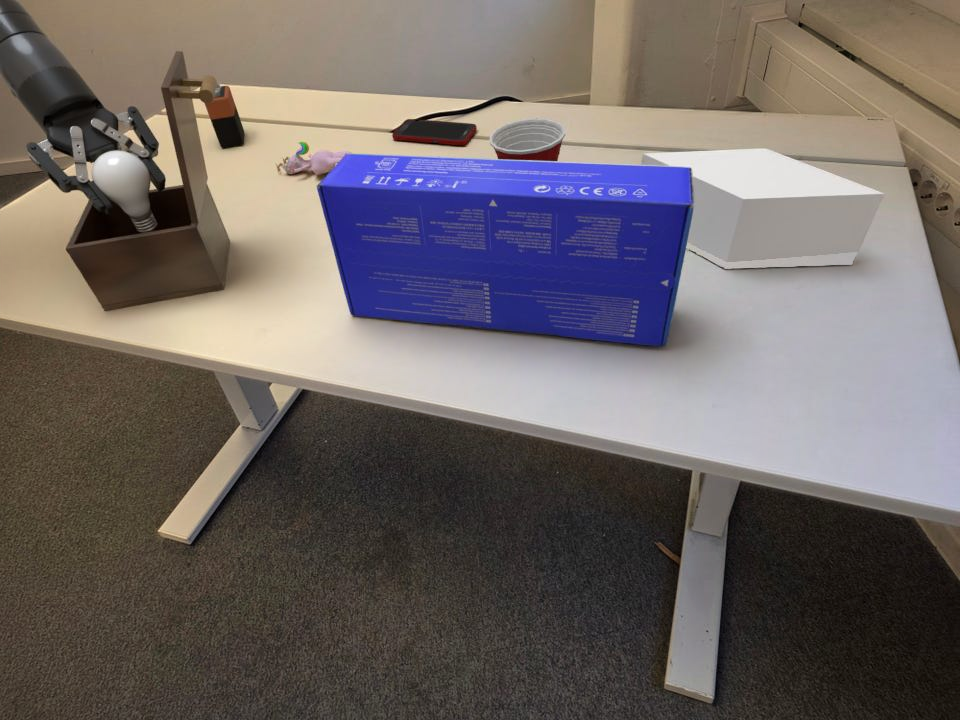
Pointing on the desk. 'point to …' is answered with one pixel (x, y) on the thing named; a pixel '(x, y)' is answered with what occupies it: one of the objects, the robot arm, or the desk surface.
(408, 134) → the cell phone
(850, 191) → the white box
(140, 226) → the lightbulb
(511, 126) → the plastic cup
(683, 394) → the desk surface
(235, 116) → the battery
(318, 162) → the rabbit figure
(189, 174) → the chest lid
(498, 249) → the blue cardboard box
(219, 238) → the chest
